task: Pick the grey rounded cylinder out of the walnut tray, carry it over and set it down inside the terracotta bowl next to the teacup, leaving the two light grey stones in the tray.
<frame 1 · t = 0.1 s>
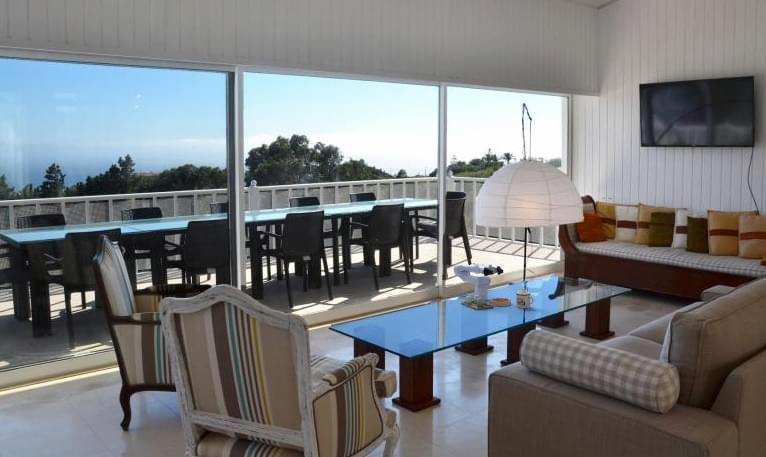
hand: (497, 272, 453), 22 cm above the table, tool horizontal, fingers open, 7 cm apart
tray: (477, 306, 452), on the table
bowl: (500, 304, 456), on the table
grey rounded cylinder: (480, 307, 448), point 1 cm above the table, touching tray
light stone b: (469, 304, 455), point 1 cm above the table, touching tray
light stone a: (477, 303, 458), point 1 cm above the table, touching tray
teacup with lid: (525, 307, 448), on the table
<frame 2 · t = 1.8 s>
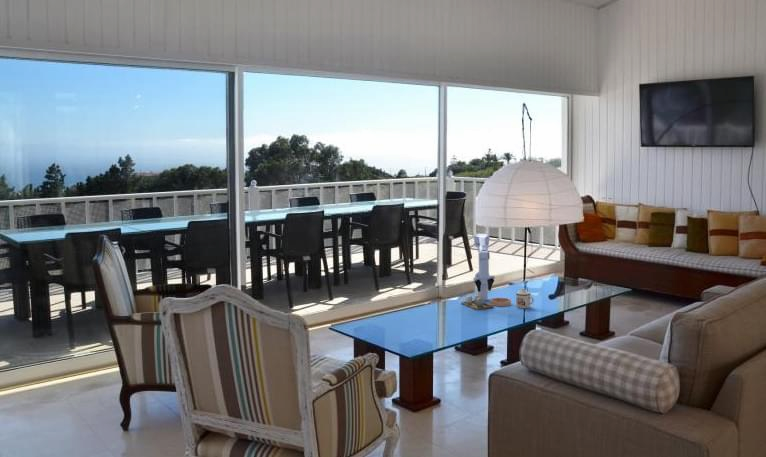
hand: (484, 290, 454), 10 cm above the table, tool pointing down, fingers open, 7 cm apart
nothing on the table moved.
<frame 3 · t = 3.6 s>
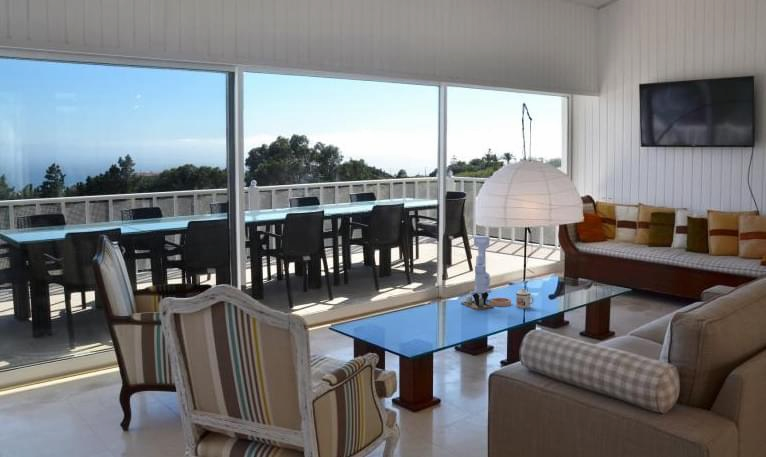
hand: (480, 304, 448), 2 cm above the table, tool pointing down, fingers closed on grey rounded cylinder, 4 cm apart
grey rounded cylinder: (480, 307, 448), point 1 cm above the table, touching gripper, tray
everything else where it was.
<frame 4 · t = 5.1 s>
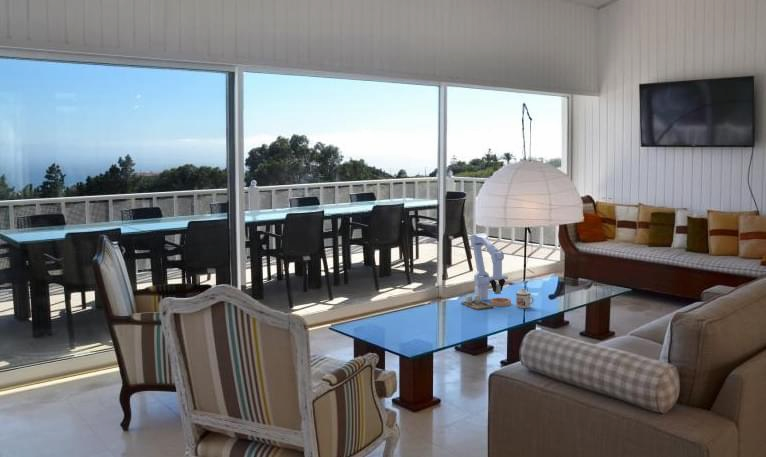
hand: (497, 291, 454), 9 cm above the table, tool pointing down, fingers closed on grey rounded cylinder, 4 cm apart
grey rounded cylinder: (497, 293, 454), point 8 cm above the table, touching gripper
everything else where it was.
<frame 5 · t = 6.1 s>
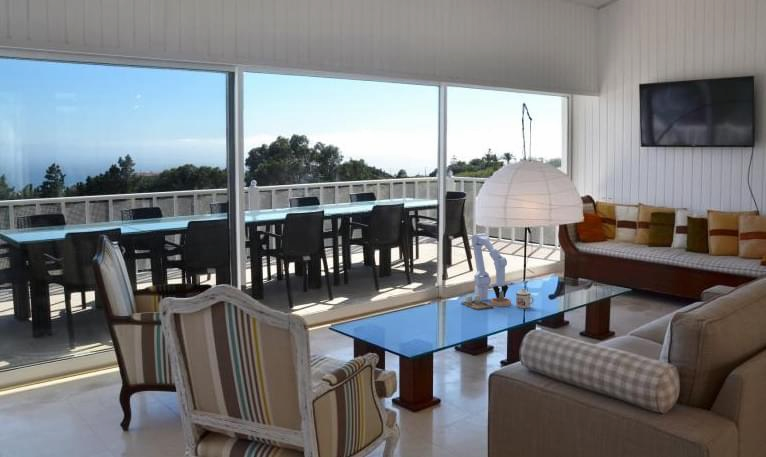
hand: (500, 297, 456), 5 cm above the table, tool pointing down, fingers closed on grey rounded cylinder, 4 cm apart
grey rounded cylinder: (500, 299, 456), point 3 cm above the table, touching gripper
everything else where it was.
when the fingers open (4 cm above the table, at t = 6.8 s): grey rounded cylinder drops 2 cm, resting on bowl.
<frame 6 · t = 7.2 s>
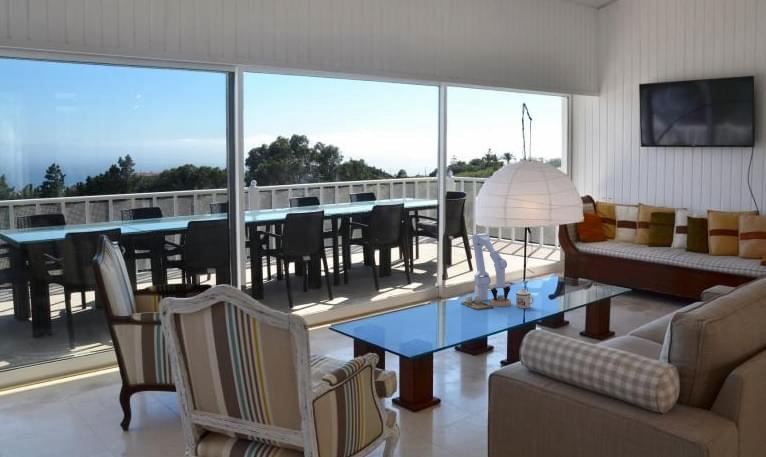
hand: (500, 299, 456), 4 cm above the table, tool pointing down, fingers open, 7 cm apart
grey rounded cylinder: (500, 303, 456), point 1 cm above the table, touching bowl
everything else where it was.
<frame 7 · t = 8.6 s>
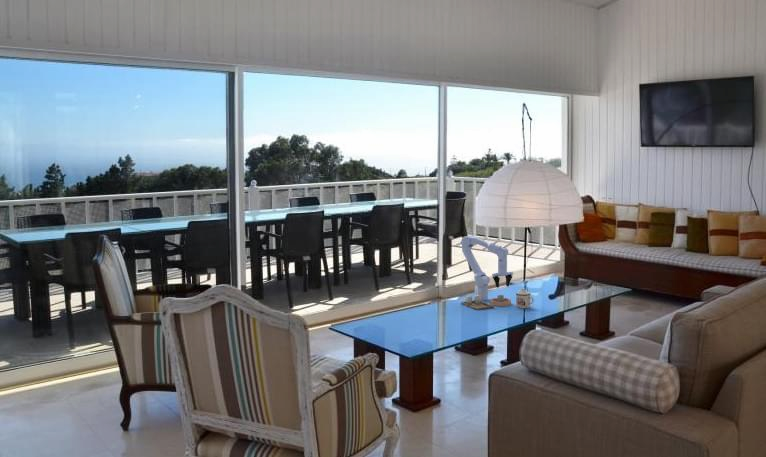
hand: (502, 286, 464), 10 cm above the table, tool pointing down, fingers open, 7 cm apart
nothing on the table moved.
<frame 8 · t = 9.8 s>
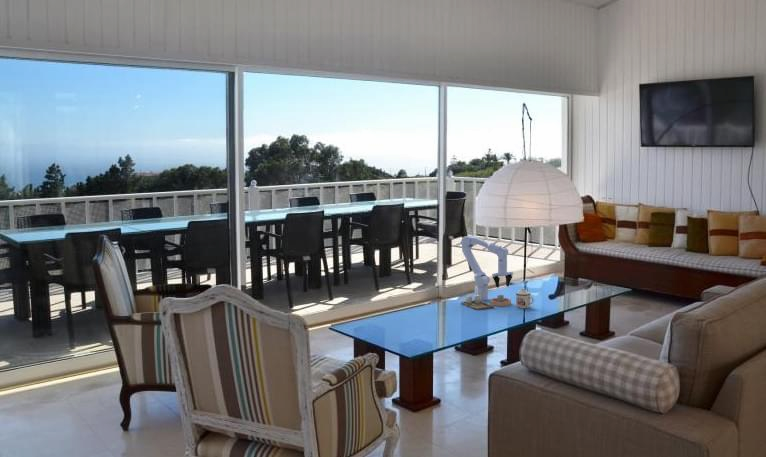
hand: (502, 286, 464), 10 cm above the table, tool pointing down, fingers open, 7 cm apart
nothing on the table moved.
at the end: grey rounded cylinder inside the target area on the bowl (0.1 cm from its centre), point 0.6 cm above the bowl's base; the gripper is holding nothing; light stone a inside the target area on the tray (5.8 cm from its centre), point 0.6 cm above the tray's base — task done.
